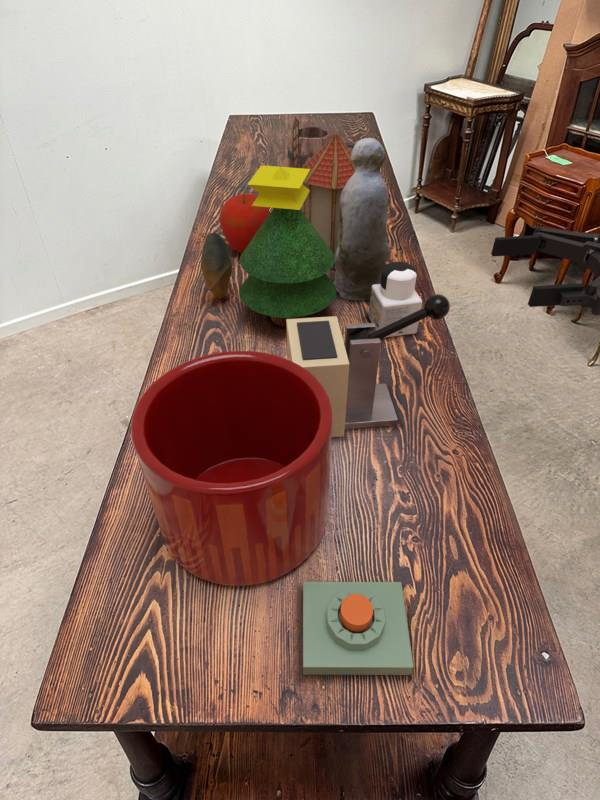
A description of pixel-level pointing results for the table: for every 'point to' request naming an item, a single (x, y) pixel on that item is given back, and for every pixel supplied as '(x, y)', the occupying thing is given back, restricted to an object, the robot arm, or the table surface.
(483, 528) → the table surface
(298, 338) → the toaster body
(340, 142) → the miniature windmill
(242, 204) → the apple
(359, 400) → the metal lever stand
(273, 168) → the decorative tree
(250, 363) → the planter
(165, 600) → the table surface
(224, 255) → the decorative stone
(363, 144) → the sculpture
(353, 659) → the control block
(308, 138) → the tankard
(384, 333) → the toaster lever
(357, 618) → the button
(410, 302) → the container
